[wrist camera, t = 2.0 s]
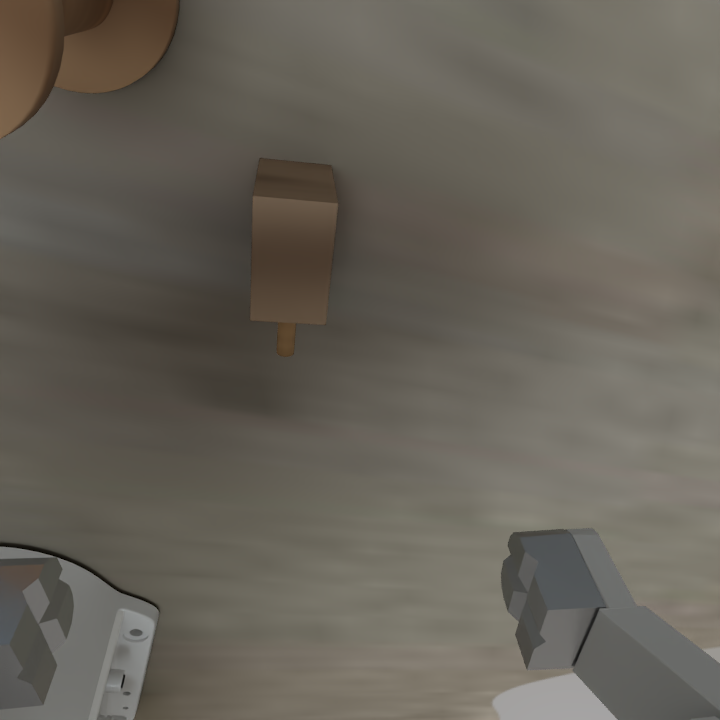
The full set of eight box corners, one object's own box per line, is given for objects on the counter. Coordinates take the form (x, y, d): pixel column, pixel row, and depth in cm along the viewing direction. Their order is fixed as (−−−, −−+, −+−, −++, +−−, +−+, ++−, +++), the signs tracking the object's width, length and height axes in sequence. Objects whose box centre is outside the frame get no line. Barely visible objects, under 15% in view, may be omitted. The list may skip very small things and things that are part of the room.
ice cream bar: (316, 326, 29) (319, 385, 25) (255, 322, 29) (248, 382, 25) (330, 164, 25) (338, 203, 21) (259, 157, 24) (252, 195, 20)
